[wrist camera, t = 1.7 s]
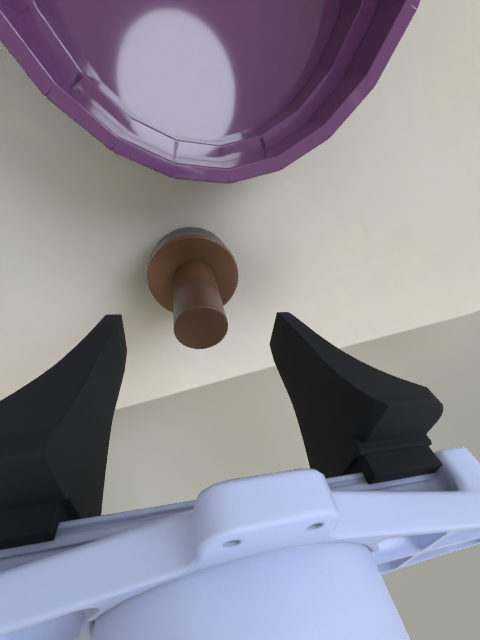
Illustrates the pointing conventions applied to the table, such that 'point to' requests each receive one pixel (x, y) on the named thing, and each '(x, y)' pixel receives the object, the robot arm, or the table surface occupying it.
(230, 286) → the brown stamp
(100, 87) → the bowl
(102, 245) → the table surface
